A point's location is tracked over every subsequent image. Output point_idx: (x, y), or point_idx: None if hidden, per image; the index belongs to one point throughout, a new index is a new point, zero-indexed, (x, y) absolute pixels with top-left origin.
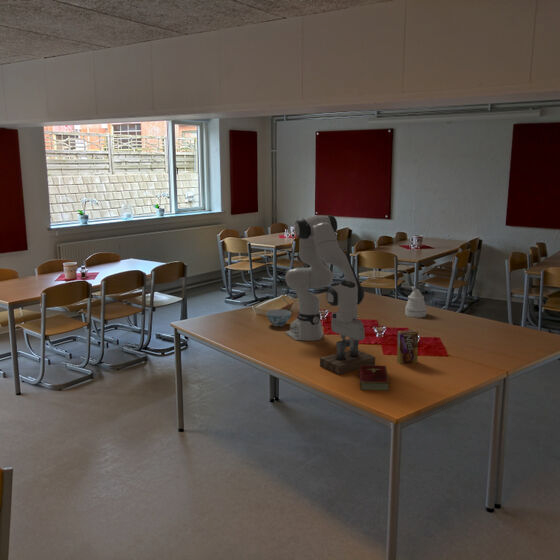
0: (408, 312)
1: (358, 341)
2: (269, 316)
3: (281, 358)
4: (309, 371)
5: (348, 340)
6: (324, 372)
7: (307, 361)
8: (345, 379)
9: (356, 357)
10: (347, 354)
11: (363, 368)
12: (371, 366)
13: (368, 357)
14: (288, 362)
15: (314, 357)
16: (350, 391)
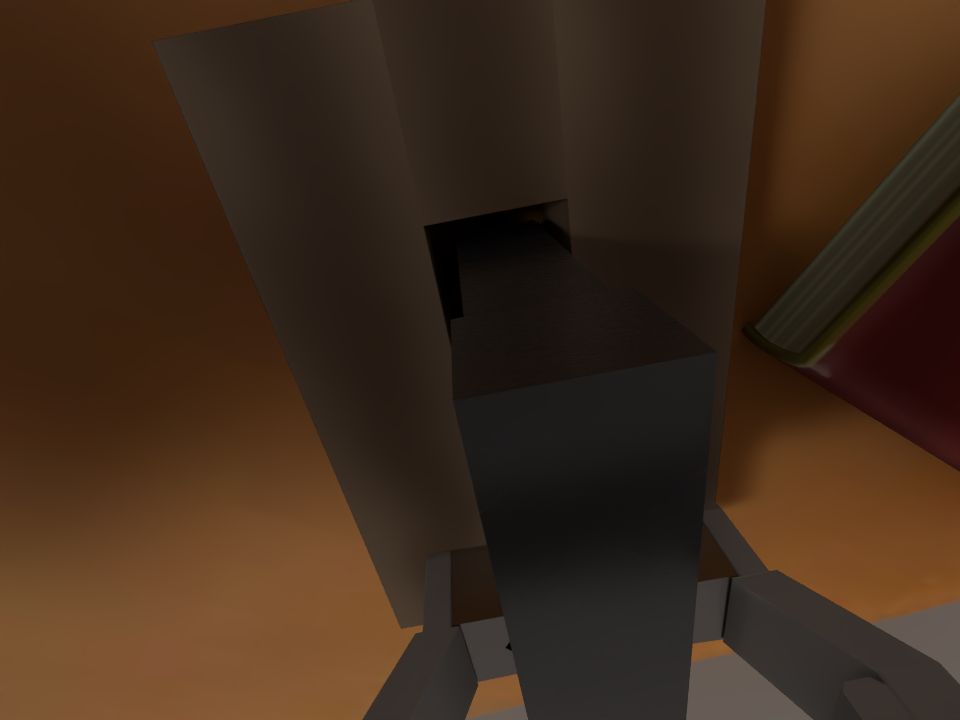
0: None
1: (677, 330)
2: None
3: (139, 703)
4: None
5: (608, 640)
6: None
7: (259, 594)
8: (781, 501)
9: None
10: (408, 344)
11: (914, 382)
12: (957, 259)
13: (711, 93)
14: (247, 688)
15: (151, 522)
16: (955, 550)
